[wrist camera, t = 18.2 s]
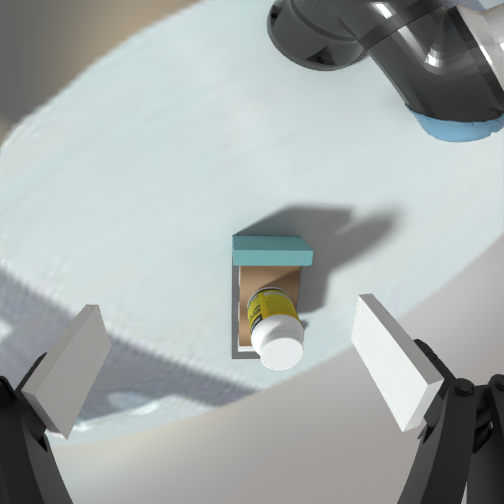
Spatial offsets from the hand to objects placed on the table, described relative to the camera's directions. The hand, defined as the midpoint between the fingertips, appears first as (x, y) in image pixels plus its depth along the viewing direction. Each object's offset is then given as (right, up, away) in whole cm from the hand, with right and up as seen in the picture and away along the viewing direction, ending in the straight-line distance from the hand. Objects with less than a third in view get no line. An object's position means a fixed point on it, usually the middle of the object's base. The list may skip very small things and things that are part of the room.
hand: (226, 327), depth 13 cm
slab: (+3, -4, +28) cm, 28 cm away
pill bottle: (+4, -4, +26) cm, 26 cm away
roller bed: (+3, -4, +32) cm, 32 cm away
